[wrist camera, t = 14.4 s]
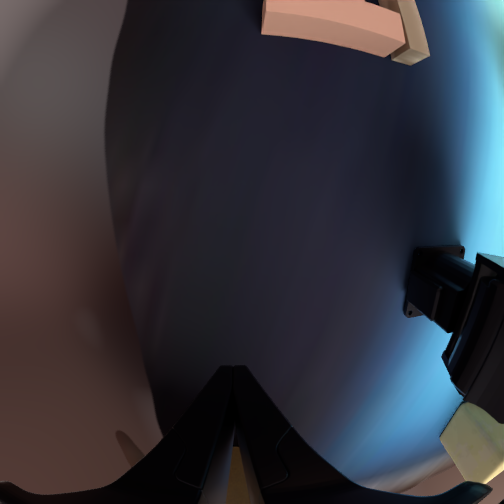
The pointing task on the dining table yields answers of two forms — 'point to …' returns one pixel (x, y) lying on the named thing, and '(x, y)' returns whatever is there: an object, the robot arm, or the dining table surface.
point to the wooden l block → (408, 32)
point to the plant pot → (237, 481)
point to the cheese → (475, 443)
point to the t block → (335, 23)
